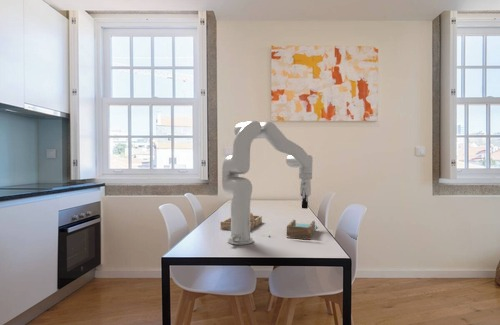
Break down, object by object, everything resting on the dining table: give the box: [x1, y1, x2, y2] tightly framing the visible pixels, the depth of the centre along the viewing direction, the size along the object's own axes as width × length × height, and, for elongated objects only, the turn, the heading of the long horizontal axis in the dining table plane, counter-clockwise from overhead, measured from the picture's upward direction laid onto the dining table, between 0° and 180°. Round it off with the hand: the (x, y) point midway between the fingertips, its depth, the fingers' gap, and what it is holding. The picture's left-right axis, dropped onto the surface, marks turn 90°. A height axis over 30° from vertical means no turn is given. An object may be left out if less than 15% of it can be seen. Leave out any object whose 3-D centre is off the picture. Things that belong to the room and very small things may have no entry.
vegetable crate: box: [220, 215, 263, 231], centre depth 185 cm, size 26×17×4 cm, turn 161°
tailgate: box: [296, 223, 318, 230], centre depth 174 cm, size 1×12×8 cm
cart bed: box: [286, 219, 316, 241], centre depth 162 cm, size 18×12×6 cm
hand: (304, 208), depth 174 cm, fingers closed
